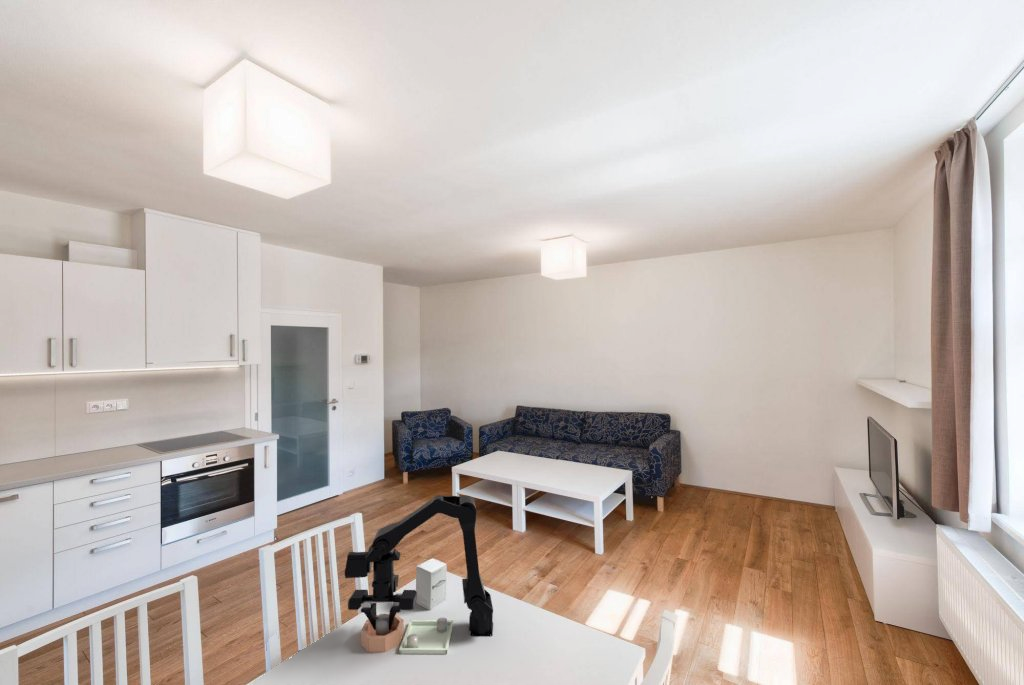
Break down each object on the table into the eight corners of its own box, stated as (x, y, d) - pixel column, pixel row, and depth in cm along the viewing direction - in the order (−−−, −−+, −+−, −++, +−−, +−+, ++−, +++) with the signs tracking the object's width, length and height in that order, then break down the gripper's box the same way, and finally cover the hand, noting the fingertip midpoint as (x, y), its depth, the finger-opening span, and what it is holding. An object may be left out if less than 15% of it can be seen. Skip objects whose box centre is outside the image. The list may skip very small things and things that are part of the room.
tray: (453, 625, 130) (453, 620, 130) (447, 655, 118) (447, 649, 118) (410, 625, 130) (410, 620, 130) (399, 655, 118) (399, 649, 118)
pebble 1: (418, 643, 121) (419, 634, 121) (416, 651, 118) (416, 641, 118) (408, 643, 121) (408, 633, 121) (405, 651, 118) (405, 641, 118)
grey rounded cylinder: (391, 627, 126) (391, 613, 126) (387, 636, 122) (387, 622, 122) (378, 627, 126) (378, 613, 126) (373, 636, 122) (373, 622, 122)
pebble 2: (447, 626, 129) (447, 617, 129) (446, 632, 126) (446, 623, 126) (437, 626, 129) (437, 617, 129) (436, 632, 126) (436, 623, 126)
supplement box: (430, 612, 137) (430, 572, 137) (415, 604, 141) (415, 565, 142) (446, 601, 143) (447, 563, 143) (431, 594, 147) (432, 557, 148)
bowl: (406, 628, 129) (406, 613, 129) (396, 653, 118) (396, 638, 118) (370, 627, 129) (370, 613, 129) (356, 653, 118) (357, 637, 118)
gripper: (421, 561, 132) (421, 612, 132) (361, 560, 132) (360, 611, 132) (413, 580, 121) (412, 636, 121) (347, 580, 121) (346, 636, 121)
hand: (382, 629), depth 124 cm, fingers closed on grey rounded cylinder, 4 cm apart
